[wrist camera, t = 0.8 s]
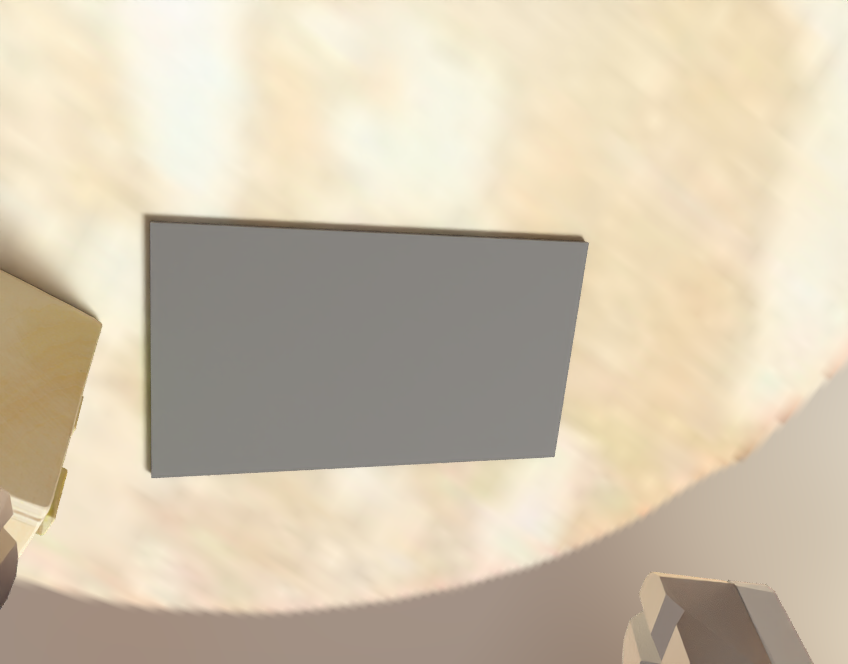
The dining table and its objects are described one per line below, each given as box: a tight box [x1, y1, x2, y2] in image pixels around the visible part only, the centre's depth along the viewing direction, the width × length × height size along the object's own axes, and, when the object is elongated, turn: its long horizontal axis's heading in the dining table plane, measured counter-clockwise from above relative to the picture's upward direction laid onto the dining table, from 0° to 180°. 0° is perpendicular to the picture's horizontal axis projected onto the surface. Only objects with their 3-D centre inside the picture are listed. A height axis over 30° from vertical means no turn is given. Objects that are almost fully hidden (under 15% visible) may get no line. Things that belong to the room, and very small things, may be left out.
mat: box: [150, 221, 589, 478], centre depth 50 cm, size 28×16×1 cm, turn 84°
